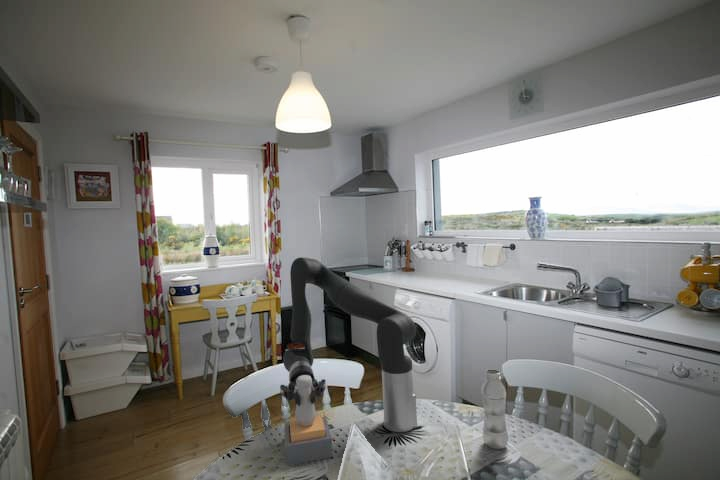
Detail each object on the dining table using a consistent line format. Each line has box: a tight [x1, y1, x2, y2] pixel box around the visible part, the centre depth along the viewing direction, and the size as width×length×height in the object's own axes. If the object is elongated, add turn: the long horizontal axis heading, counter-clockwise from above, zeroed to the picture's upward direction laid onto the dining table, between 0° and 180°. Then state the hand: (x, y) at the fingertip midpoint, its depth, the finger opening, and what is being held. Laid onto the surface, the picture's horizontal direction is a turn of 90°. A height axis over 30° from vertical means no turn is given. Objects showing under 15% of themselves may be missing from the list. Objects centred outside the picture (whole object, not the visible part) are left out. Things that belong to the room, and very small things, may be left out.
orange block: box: [289, 413, 325, 443], centre depth 102 cm, size 9×9×4 cm
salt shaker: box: [294, 375, 317, 427], centre depth 102 cm, size 6×6×13 cm
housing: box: [283, 416, 333, 466], centre depth 102 cm, size 12×12×5 cm
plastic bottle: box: [480, 368, 509, 450], centre depth 99 cm, size 6×7×20 cm
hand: (305, 401), depth 99 cm, fingers closed on salt shaker, 3 cm apart
